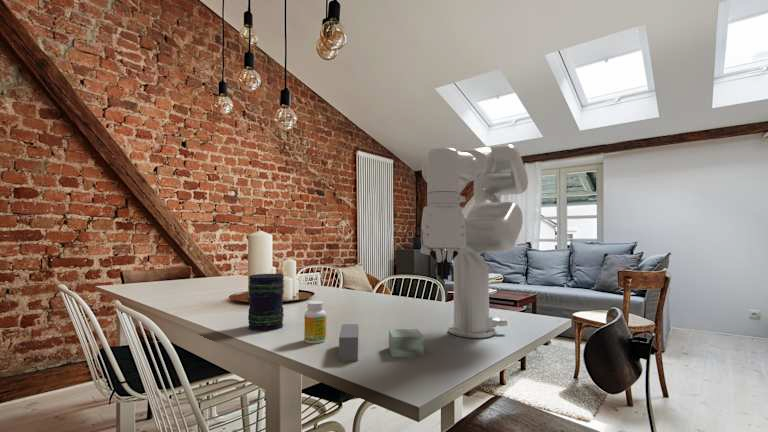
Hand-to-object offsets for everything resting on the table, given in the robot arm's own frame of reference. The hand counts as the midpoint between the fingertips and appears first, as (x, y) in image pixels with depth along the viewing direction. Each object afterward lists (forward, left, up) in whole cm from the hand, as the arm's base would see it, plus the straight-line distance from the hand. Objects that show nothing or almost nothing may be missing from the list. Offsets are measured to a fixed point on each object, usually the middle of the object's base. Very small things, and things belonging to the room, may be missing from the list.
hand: (443, 278), depth 91 cm
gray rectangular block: (+22, 0, -17) cm, 28 cm away
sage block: (+9, 0, -17) cm, 19 cm away
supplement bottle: (+31, -10, -17) cm, 37 cm away
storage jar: (+47, -25, -17) cm, 56 cm away
